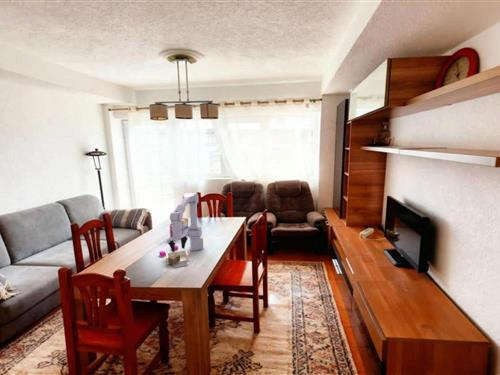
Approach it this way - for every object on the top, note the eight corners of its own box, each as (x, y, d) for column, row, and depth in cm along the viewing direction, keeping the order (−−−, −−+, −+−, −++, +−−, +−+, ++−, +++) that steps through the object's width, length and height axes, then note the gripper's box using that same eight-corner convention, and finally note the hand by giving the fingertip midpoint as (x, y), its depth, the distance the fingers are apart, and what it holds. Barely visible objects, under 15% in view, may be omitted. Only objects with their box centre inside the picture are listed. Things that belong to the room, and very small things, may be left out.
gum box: (177, 240, 226) (176, 225, 224) (169, 239, 228) (168, 225, 226) (188, 231, 248) (188, 218, 246) (181, 231, 249) (180, 218, 247)
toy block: (172, 253, 210) (171, 244, 209) (178, 255, 207) (177, 245, 206) (157, 261, 197) (156, 251, 195) (163, 262, 194) (163, 252, 193)
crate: (186, 255, 194) (186, 249, 193) (188, 260, 185) (188, 254, 184) (166, 258, 189) (165, 252, 188) (167, 264, 180) (166, 258, 179)
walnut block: (179, 255, 183) (172, 259, 177) (180, 260, 184) (173, 264, 178) (175, 254, 185) (168, 258, 179) (175, 259, 186) (168, 263, 179)
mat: (186, 262, 183) (186, 261, 183) (188, 266, 176) (188, 265, 176) (172, 264, 180) (172, 263, 180) (173, 268, 173) (173, 267, 173)
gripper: (182, 226, 183) (183, 245, 185) (163, 231, 172) (165, 251, 174) (189, 228, 178) (190, 247, 180) (169, 233, 168) (171, 254, 170)
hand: (178, 250), depth 177 cm, fingers open, 7 cm apart
